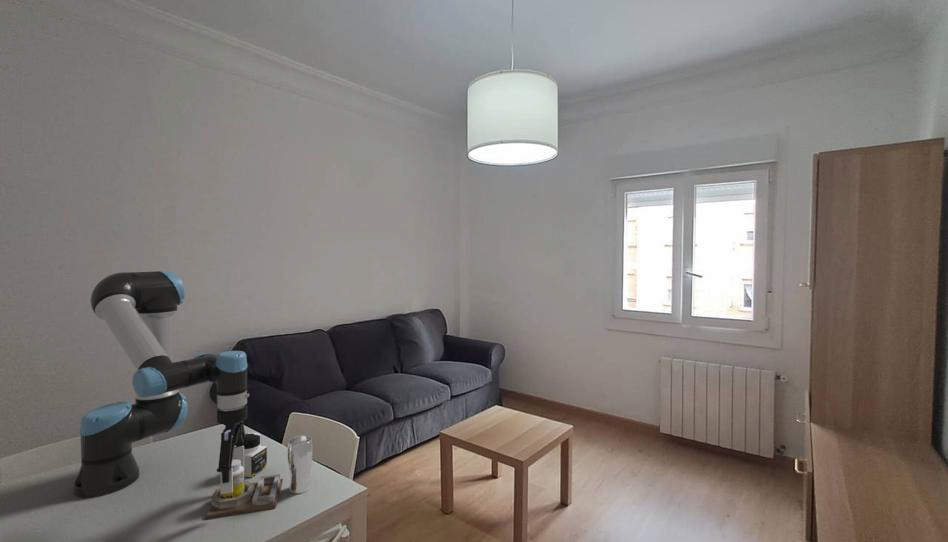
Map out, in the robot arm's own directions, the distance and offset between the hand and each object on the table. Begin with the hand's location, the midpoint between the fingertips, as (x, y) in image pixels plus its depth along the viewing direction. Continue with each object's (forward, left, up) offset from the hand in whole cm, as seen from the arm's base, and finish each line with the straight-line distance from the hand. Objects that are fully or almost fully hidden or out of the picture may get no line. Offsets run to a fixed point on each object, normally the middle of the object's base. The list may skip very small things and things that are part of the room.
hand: (233, 479), depth 119 cm
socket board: (0, +4, -6) cm, 7 cm away
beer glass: (-2, +18, -6) cm, 19 cm away
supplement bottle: (0, 0, -5) cm, 5 cm away
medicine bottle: (-17, +1, -7) cm, 18 cm away
